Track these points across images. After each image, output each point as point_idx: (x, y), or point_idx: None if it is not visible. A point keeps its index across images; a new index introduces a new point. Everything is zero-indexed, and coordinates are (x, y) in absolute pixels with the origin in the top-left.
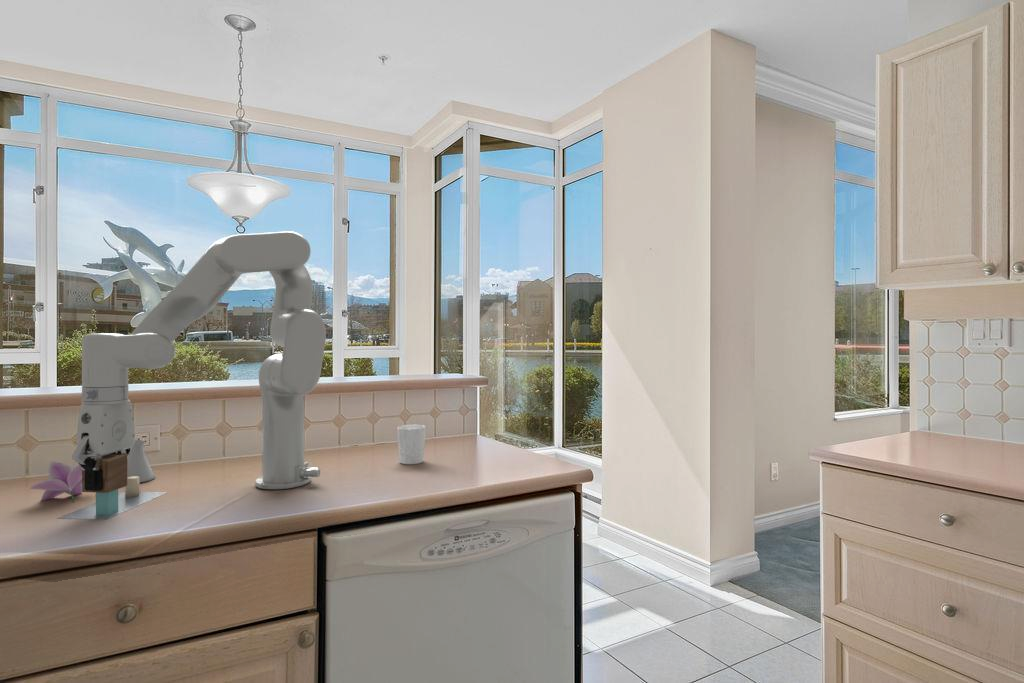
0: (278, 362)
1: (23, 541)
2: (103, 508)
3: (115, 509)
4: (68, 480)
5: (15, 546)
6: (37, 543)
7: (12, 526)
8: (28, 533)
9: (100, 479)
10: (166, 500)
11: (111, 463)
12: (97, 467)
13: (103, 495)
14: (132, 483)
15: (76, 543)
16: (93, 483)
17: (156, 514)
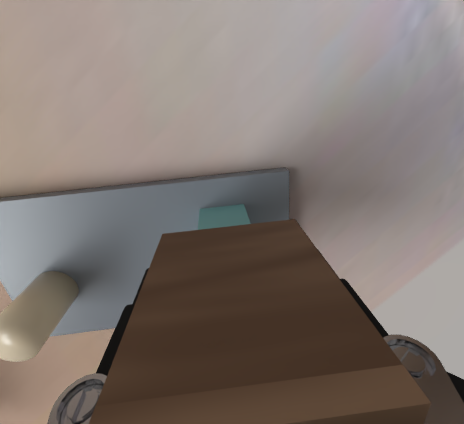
0: None
1: (412, 255)
2: None
3: (212, 210)
4: None
5: (444, 243)
6: (432, 213)
7: None
8: (358, 289)
9: (341, 281)
10: (13, 164)
11: (334, 346)
12: (403, 361)
13: None
14: (38, 312)
15: (454, 107)
16: (349, 287)
17: (167, 61)
